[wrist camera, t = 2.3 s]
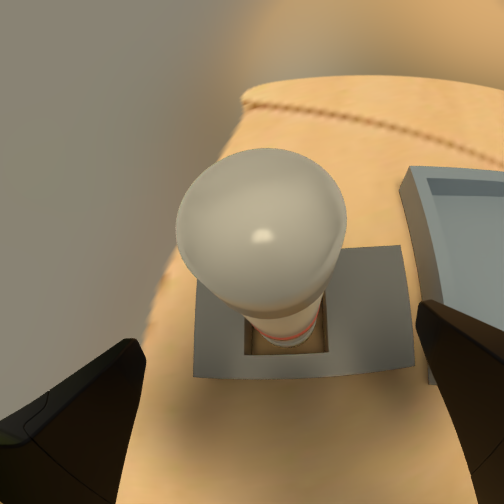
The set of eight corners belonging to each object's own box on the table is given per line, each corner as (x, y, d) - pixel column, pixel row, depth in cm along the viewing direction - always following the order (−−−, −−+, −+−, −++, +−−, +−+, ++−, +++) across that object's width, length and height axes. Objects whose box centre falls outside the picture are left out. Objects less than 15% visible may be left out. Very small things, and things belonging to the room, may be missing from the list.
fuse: (316, 346, 17) (357, 294, 5) (259, 348, 17) (167, 301, 5) (313, 292, 18) (333, 143, 6) (259, 295, 18) (185, 158, 7)
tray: (553, 342, 12) (576, 335, 9) (428, 384, 14) (449, 385, 12) (518, 193, 18) (533, 175, 15) (398, 190, 20) (409, 165, 17)
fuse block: (400, 366, 15) (414, 365, 13) (207, 376, 17) (193, 377, 15) (389, 260, 18) (400, 245, 16) (210, 270, 20) (198, 257, 17)
